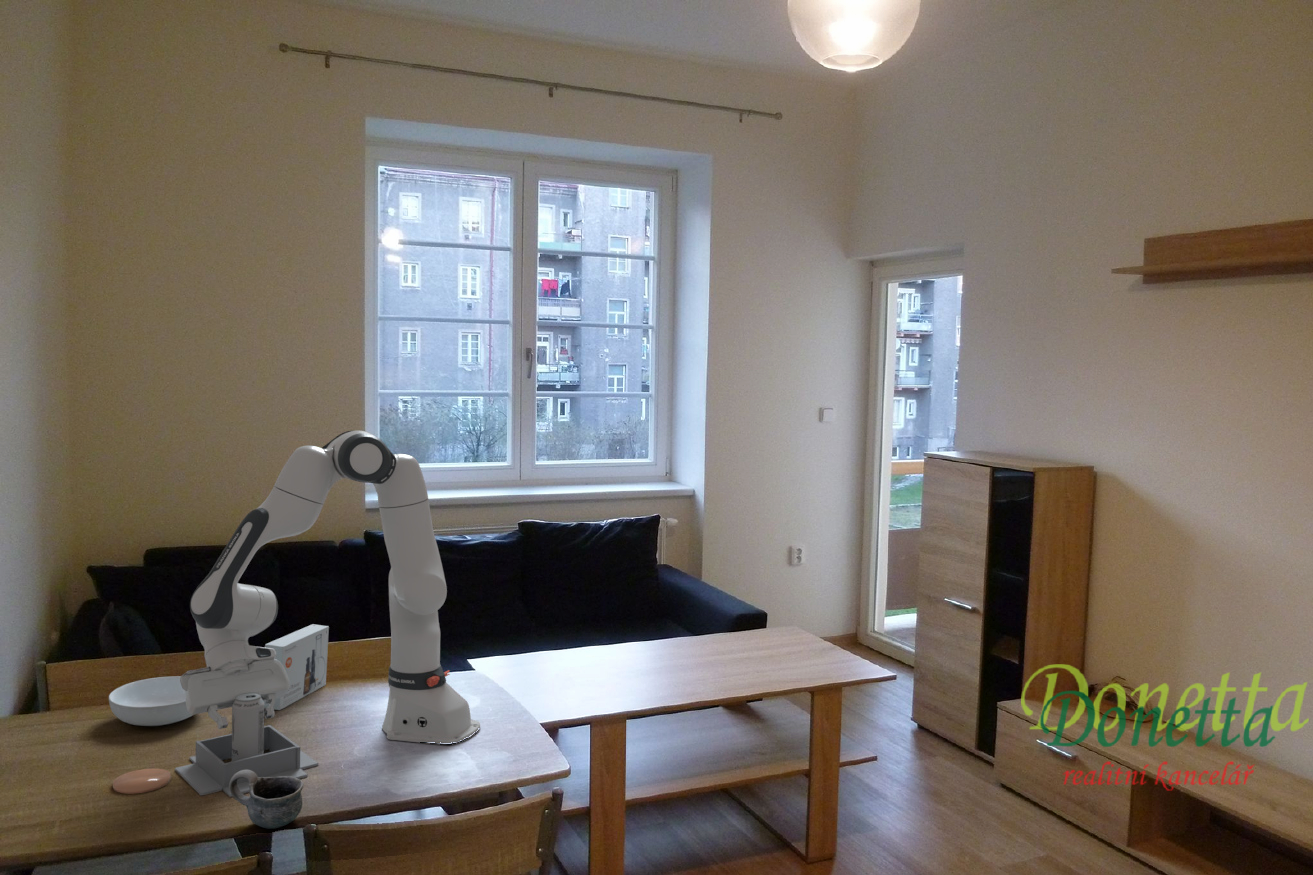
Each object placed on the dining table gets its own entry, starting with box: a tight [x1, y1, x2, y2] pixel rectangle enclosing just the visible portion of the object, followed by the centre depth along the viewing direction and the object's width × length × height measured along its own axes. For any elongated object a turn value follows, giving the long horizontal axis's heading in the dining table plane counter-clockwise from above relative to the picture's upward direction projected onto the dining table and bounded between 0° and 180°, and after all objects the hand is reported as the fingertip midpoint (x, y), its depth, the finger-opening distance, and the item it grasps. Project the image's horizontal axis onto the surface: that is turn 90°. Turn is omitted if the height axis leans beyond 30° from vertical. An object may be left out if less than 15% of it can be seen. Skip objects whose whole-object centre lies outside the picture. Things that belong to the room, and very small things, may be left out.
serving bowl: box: [108, 675, 193, 727], centre depth 222 cm, size 21×21×7 cm
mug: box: [229, 770, 305, 830], centre depth 173 cm, size 10×12×10 cm
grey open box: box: [174, 724, 319, 798], centre depth 197 cm, size 23×23×5 cm
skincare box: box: [264, 623, 330, 711], centre depth 240 cm, size 21×5×16 cm, turn 168°
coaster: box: [112, 767, 172, 795], centre depth 188 cm, size 10×10×1 cm
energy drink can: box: [231, 692, 265, 762], centre depth 197 cm, size 6×6×15 cm
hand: (247, 722), depth 197 cm, fingers open, 8 cm apart
